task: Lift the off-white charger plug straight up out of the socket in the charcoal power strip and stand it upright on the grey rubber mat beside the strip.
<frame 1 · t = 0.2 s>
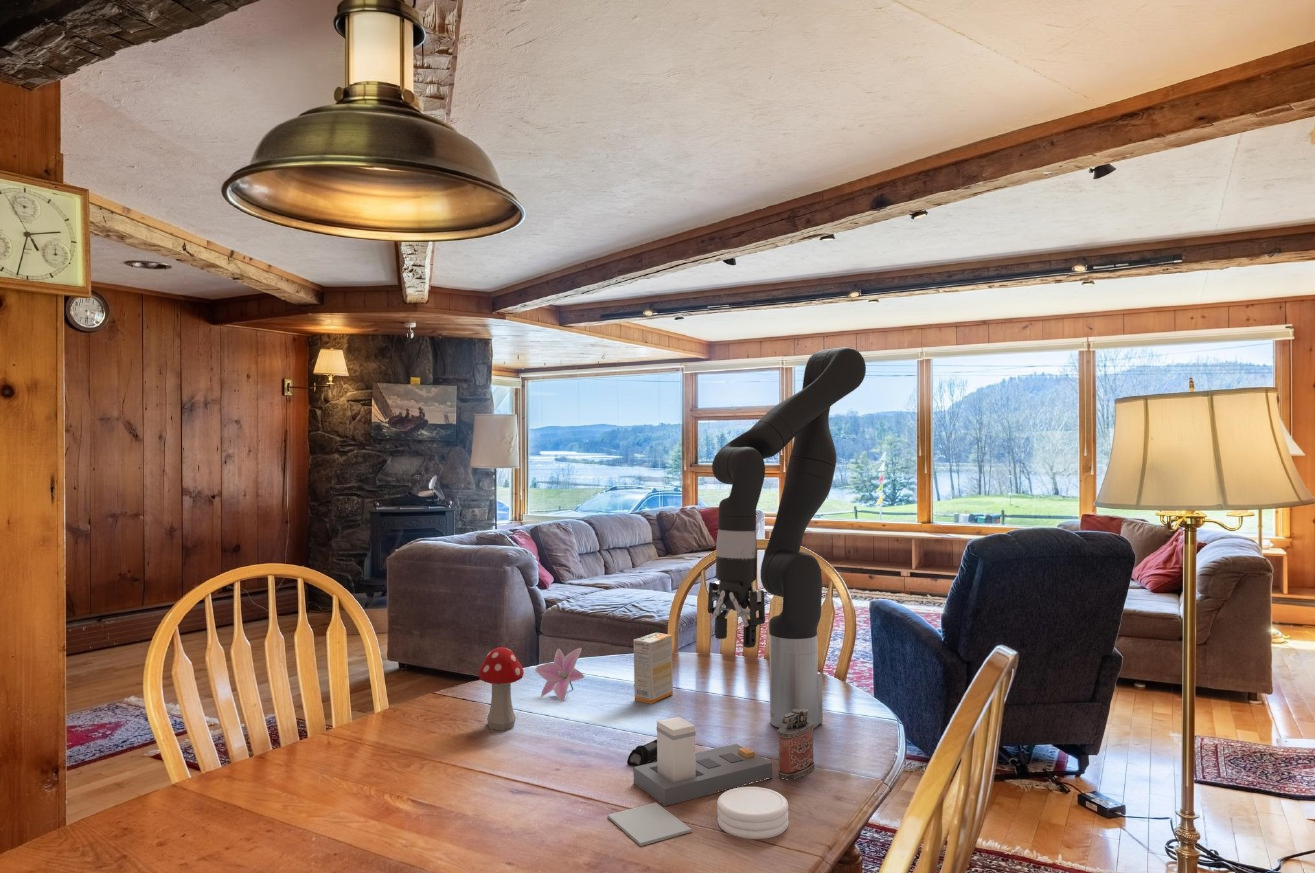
hand: (734, 642, 149), 17 cm above the table, tool pointing down, fingers open, 8 cm apart
decorative mushroom: (501, 726, 158), on the table
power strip: (703, 780, 130), on the table
lighter: (796, 773, 133), on the table
electric trimmer: (659, 755, 142), on the table
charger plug: (676, 787, 127), resting in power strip
coaster: (752, 825, 115), on the table
lily: (561, 695, 178), on the table
supplement box: (653, 698, 174), on the table
rubber mat: (648, 824, 114), on the table
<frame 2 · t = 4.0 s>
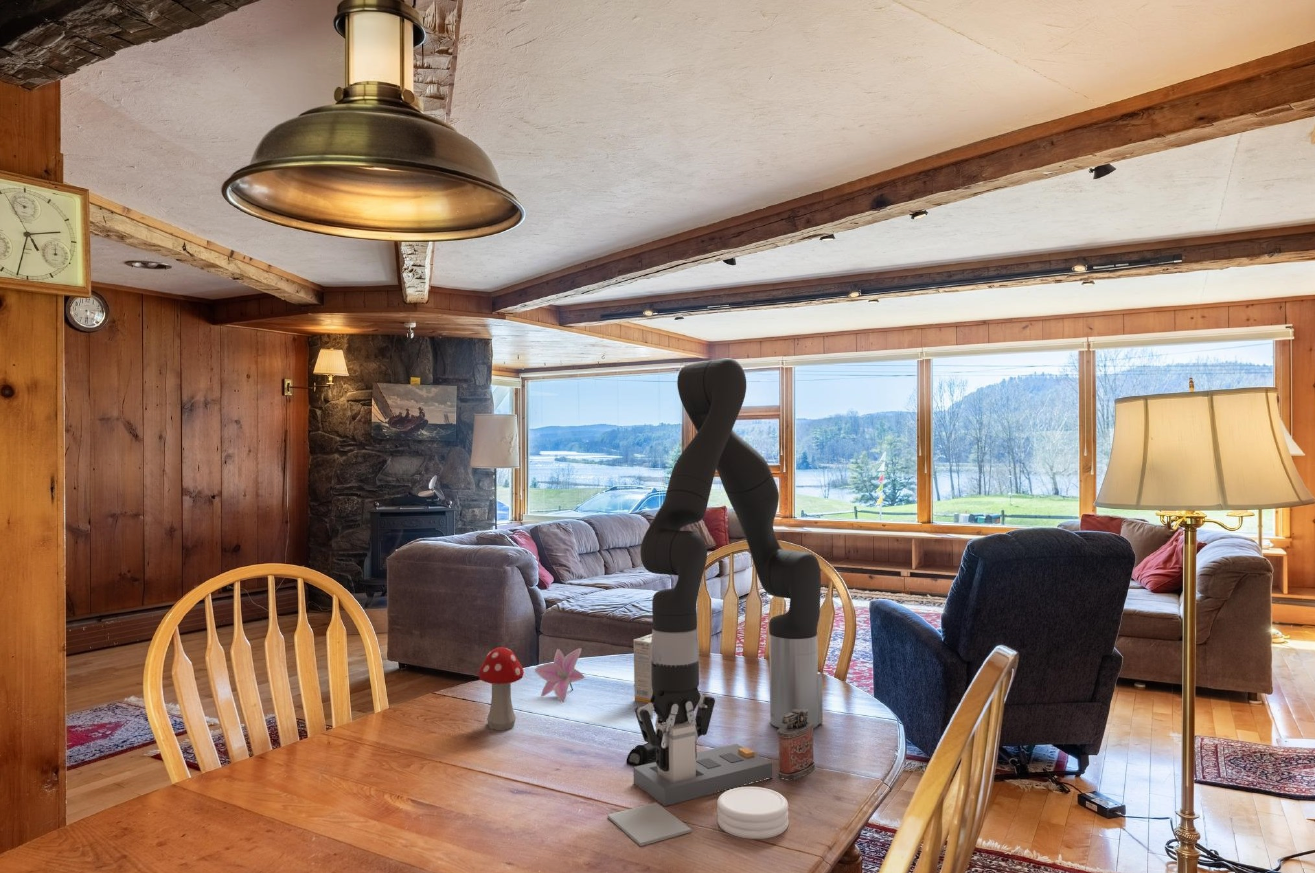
hand: (676, 766, 127), 3 cm above the table, tool pointing down, fingers closed on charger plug, 4 cm apart
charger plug: (676, 787, 127), resting in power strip, touching gripper
everything else where it was.
when the fingers open (5 cm above the table, at t = 12.0 s): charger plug drops 1 cm, resting on rubber mat.
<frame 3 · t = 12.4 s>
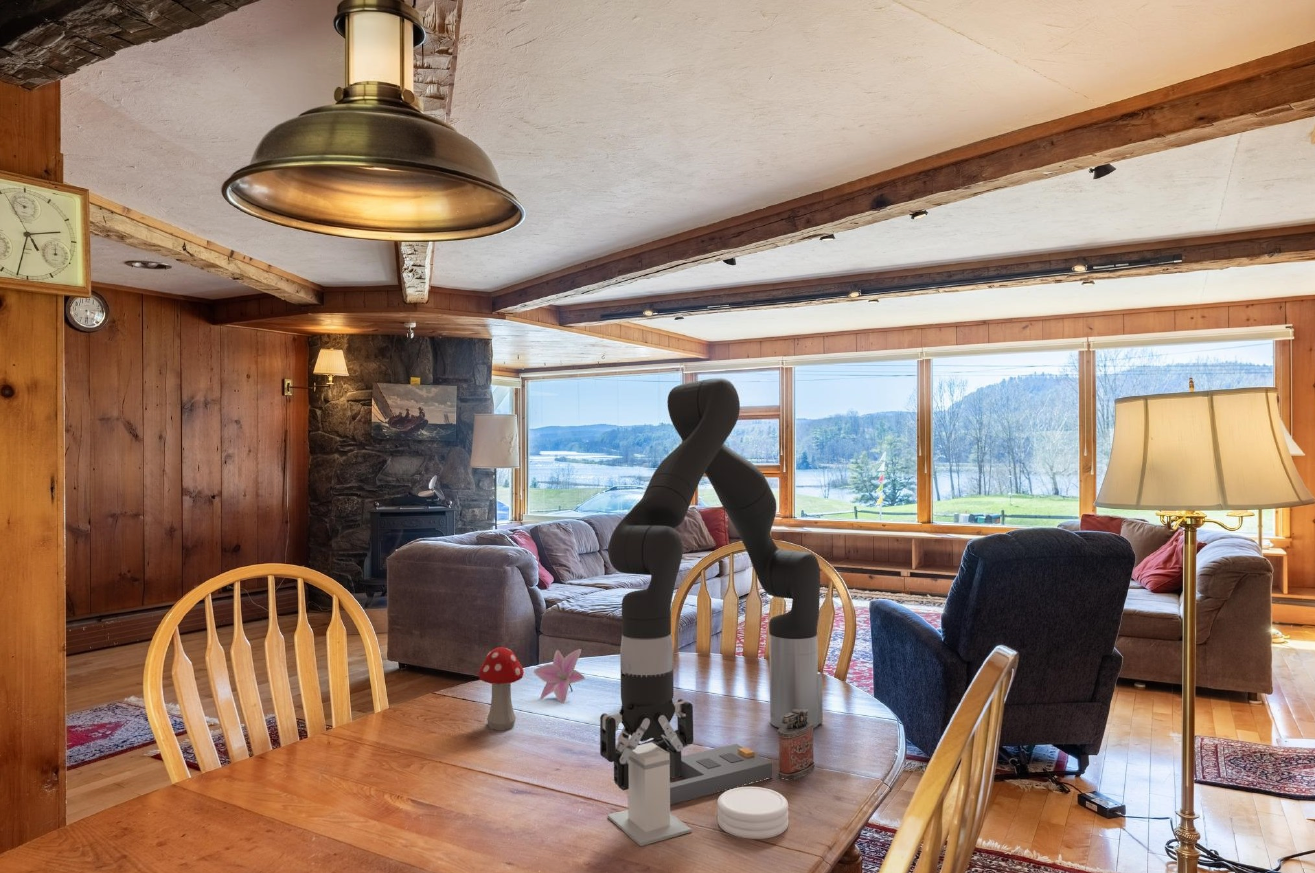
hand: (648, 781, 115), 6 cm above the table, tool pointing down, fingers open, 7 cm apart
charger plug: (649, 821, 114), resting on rubber mat
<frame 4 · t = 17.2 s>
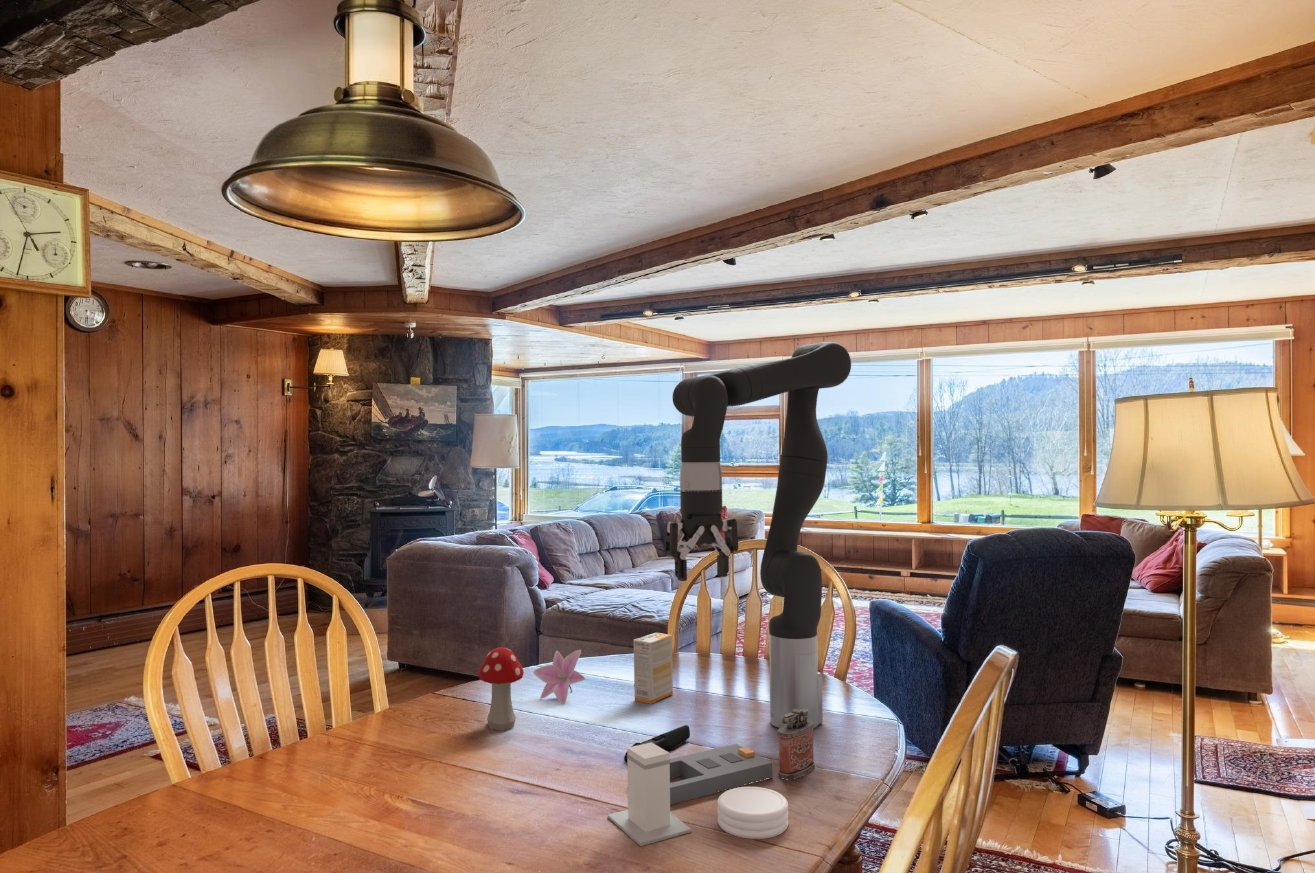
hand: (702, 578, 145), 30 cm above the table, tool pointing down, fingers open, 8 cm apart
at the end: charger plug inside the target area (0.1 cm from its centre), resting on rubber mat; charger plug tilted 0°; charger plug touching rubber mat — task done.
